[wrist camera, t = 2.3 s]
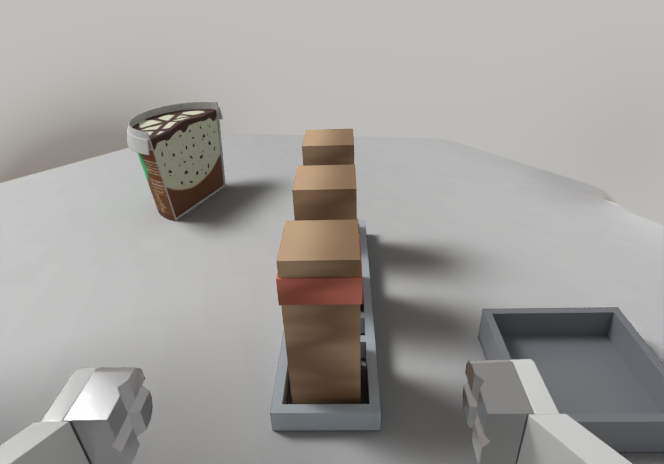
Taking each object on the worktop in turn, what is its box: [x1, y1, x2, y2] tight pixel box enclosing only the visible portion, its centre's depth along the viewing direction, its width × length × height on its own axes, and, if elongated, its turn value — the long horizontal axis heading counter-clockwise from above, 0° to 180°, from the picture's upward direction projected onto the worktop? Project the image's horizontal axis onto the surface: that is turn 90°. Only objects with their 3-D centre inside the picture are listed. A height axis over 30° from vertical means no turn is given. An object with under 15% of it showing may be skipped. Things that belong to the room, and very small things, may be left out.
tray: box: [478, 307, 664, 452], centre depth 28 cm, size 9×9×2 cm
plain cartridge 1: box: [302, 129, 354, 166], centre depth 41 cm, size 4×4×11 cm
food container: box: [127, 102, 225, 221], centre depth 52 cm, size 12×6×10 cm, turn 157°
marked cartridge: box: [276, 219, 362, 404], centre depth 27 cm, size 4×4×11 cm
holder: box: [270, 221, 381, 431], centre depth 36 cm, size 6×22×2 cm, turn 179°
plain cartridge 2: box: [292, 165, 357, 221], centre depth 34 cm, size 4×4×11 cm
